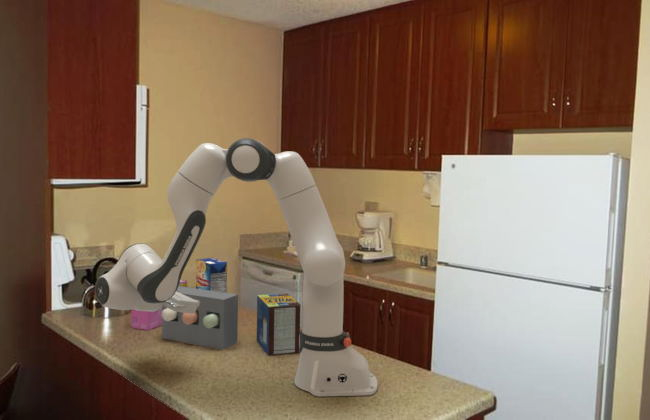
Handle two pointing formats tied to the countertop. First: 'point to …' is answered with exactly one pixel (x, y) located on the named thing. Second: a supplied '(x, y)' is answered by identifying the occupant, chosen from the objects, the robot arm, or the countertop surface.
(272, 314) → the protein box
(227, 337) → the button panel
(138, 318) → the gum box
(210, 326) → the sage button
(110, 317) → the countertop surface
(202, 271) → the beverage box
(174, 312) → the cream button
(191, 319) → the terracotta button
